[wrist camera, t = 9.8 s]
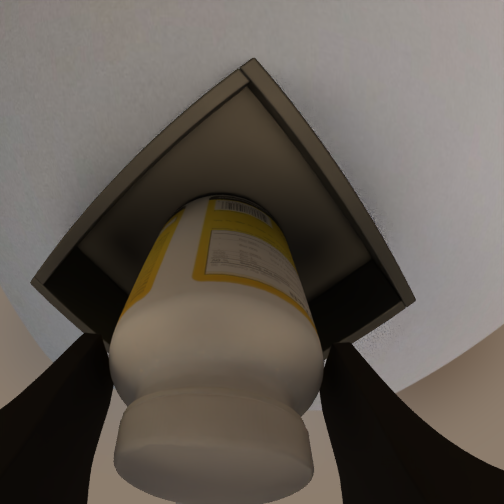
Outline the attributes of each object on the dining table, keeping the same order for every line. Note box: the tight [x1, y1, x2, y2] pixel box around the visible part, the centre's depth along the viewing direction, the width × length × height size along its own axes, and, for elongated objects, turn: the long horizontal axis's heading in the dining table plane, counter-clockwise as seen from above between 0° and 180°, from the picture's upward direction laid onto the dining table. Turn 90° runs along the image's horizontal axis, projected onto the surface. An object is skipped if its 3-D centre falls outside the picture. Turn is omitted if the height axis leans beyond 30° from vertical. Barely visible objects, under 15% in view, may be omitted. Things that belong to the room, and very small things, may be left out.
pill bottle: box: [109, 195, 324, 504], centre depth 11 cm, size 6×6×12 cm
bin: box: [30, 58, 416, 360], centre depth 14 cm, size 13×12×4 cm
